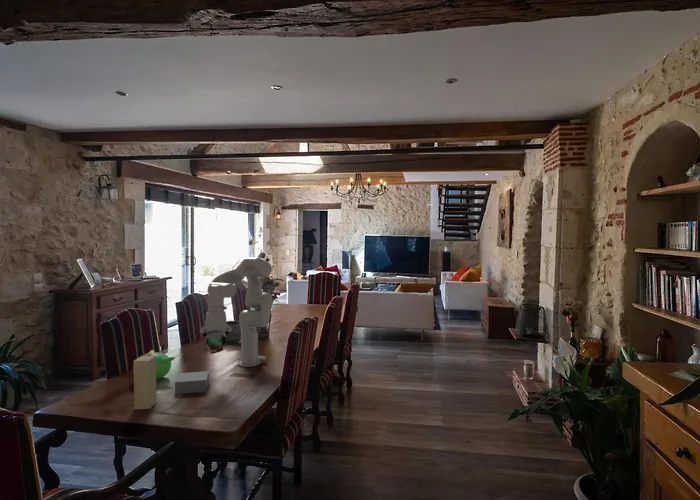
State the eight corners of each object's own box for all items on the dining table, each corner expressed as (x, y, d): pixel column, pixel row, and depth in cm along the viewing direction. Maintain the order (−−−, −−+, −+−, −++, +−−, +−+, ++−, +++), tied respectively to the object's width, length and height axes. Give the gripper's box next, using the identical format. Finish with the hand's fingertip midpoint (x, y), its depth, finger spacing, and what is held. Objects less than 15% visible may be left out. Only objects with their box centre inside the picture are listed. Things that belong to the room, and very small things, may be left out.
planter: (232, 340, 309) (232, 319, 309) (246, 343, 301) (245, 322, 300) (216, 344, 298) (216, 323, 297) (229, 347, 289) (229, 325, 289)
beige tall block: (139, 402, 191) (139, 355, 191) (156, 402, 192) (156, 355, 191) (132, 409, 183) (131, 361, 183) (149, 409, 184) (149, 360, 183)
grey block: (208, 382, 219) (208, 371, 219) (206, 392, 205) (206, 379, 205) (179, 384, 216) (179, 373, 216) (175, 394, 202) (174, 382, 202)
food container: (222, 353, 210) (219, 332, 210) (209, 354, 210) (206, 334, 210) (228, 347, 222) (225, 328, 222) (216, 348, 222) (213, 329, 222)
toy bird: (164, 372, 235) (164, 345, 234) (177, 379, 223) (176, 351, 222) (128, 380, 222) (128, 351, 222) (140, 388, 210) (140, 358, 210)
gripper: (233, 307, 222) (233, 342, 222) (197, 309, 216) (197, 344, 217) (234, 309, 215) (234, 345, 215) (197, 311, 209) (197, 348, 210)
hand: (216, 344), depth 216 cm, fingers closed on food container, 6 cm apart
